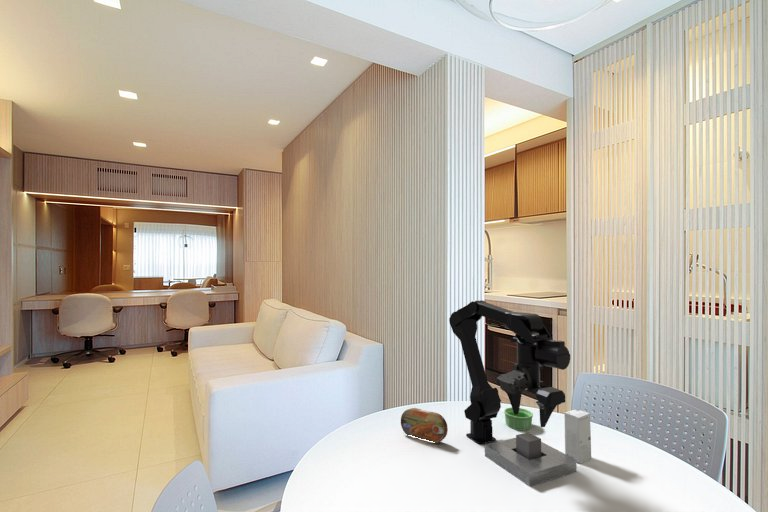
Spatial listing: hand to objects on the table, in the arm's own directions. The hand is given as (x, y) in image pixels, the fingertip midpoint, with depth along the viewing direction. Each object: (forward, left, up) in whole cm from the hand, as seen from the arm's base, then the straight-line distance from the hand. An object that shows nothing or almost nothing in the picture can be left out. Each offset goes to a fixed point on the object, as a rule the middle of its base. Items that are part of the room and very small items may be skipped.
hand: (528, 420), depth 99 cm
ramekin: (-20, +16, -12) cm, 28 cm away
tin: (-24, -18, -12) cm, 32 cm away
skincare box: (+3, +15, -12) cm, 19 cm away
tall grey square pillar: (0, 0, -11) cm, 11 cm away
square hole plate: (0, 0, -11) cm, 11 cm away
